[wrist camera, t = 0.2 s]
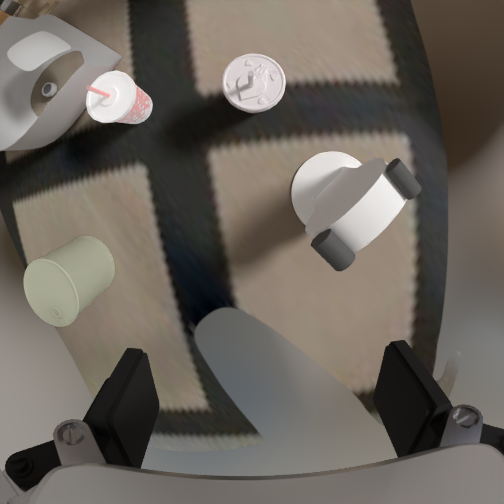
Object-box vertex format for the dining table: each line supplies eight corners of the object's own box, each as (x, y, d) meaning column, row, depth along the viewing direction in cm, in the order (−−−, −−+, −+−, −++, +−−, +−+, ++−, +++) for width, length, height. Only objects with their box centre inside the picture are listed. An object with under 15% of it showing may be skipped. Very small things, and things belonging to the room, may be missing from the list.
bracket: (37, -7, 28) (-2, -31, 16) (58, 2, 30) (17, -25, 17) (-7, 57, 31) (-53, 46, 19) (9, 71, 33) (-40, 59, 20)
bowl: (-2, 113, 35) (-48, 110, 24) (58, 18, 31) (19, -6, 20) (60, 173, 39) (10, 180, 27) (134, 64, 35) (97, 36, 23)
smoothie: (218, 108, 37) (202, 81, 23) (244, 69, 35) (242, 26, 22) (261, 132, 38) (267, 116, 24) (287, 92, 36) (305, 59, 23)
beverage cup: (165, 112, 37) (125, 90, 23) (128, 138, 37) (76, 130, 24) (145, 78, 35) (101, 46, 22) (109, 104, 36) (54, 86, 22)
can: (79, 298, 44) (41, 334, 33) (57, 245, 42) (11, 270, 30) (124, 284, 43) (89, 322, 32) (101, 227, 41) (56, 249, 29)
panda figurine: (328, 255, 42) (364, 301, 28) (269, 198, 40) (280, 218, 26) (387, 194, 40) (447, 213, 25) (332, 134, 38) (376, 120, 23)
